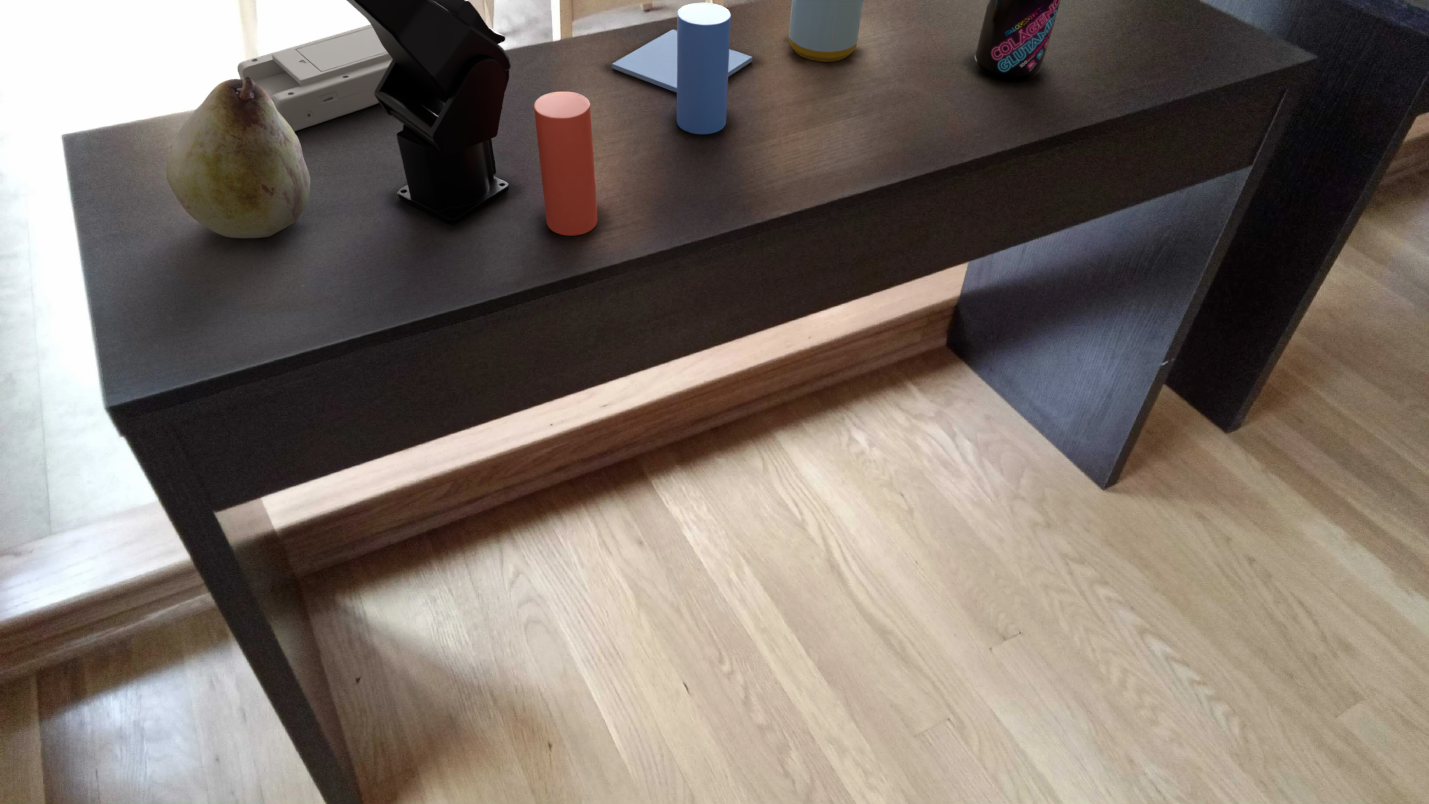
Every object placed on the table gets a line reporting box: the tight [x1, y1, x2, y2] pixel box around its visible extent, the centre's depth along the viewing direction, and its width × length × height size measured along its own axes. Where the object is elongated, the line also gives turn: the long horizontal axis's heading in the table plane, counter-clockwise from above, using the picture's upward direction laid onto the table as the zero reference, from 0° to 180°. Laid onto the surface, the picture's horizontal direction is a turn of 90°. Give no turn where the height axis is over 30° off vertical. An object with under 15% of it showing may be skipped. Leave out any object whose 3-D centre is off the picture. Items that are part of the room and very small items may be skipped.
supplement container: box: [974, 0, 1062, 83], centre depth 93 cm, size 7×7×10 cm
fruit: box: [165, 76, 311, 239], centre depth 69 cm, size 10×9×12 cm
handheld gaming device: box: [236, 24, 393, 132], centre depth 87 cm, size 9×15×4 cm, turn 131°
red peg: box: [533, 91, 598, 237], centre depth 72 cm, size 4×4×10 cm
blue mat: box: [611, 29, 753, 94], centre depth 94 cm, size 10×10×1 cm
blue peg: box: [676, 2, 732, 135], centre depth 83 cm, size 4×4×10 cm
